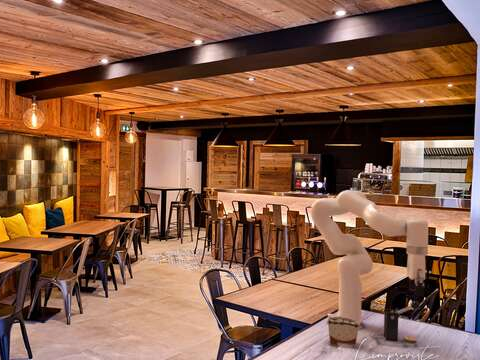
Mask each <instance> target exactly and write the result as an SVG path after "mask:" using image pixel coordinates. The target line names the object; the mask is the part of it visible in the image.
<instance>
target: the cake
mask: <svg viewBox="0 0 480 360" xmlns="http://www.w3.org/2000/svg"><path fill="white" fill-rule="evenodd" d="M402 339H403V340H402V341H404V342H405V343H408V344H416V343H417V337H416V336H413V335H407V334H406V335H403V338H402Z"/></svg>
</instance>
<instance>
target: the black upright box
mask: <svg viewBox="0 0 480 360" xmlns="http://www.w3.org/2000/svg"><path fill="white" fill-rule="evenodd" d="M391 311H393V312H391ZM396 311H397V310H396V309H389V308H384V311H383V312H384V314H383V337H384V339H385V341H389V342H396V343H397V342H399V315H400V314H399V313H396Z"/></svg>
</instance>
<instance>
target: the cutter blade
mask: <svg viewBox="0 0 480 360" xmlns="http://www.w3.org/2000/svg"><path fill="white" fill-rule="evenodd" d="M420 308H421V305H420V303H419V301H415V300H413V301H412V302H411V303H410V305H408V306H406V307H404V308H401V309H398V310H396V313H399V314H398V315H401V314H402V313H405V312H408V311H410V310H412V309H413V310H419V309H420ZM391 312H393V311H391Z"/></svg>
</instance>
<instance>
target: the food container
mask: <svg viewBox="0 0 480 360" xmlns="http://www.w3.org/2000/svg"><path fill="white" fill-rule="evenodd" d="M326 325H327V326H328V337H329V338H328V339H329V346H335V347H339V344H338V343H340V344H346V345H347V344H349V345H357V341H358V335H359V333H358V332H359V329H361V326H360V325H361V324H360V325H359V323H358V322H357V321H355V320H353V319H349V318H344V317H332V318H328V319H327V321H326Z"/></svg>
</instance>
